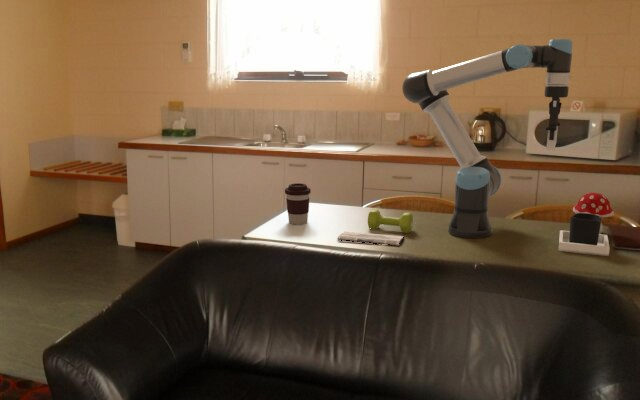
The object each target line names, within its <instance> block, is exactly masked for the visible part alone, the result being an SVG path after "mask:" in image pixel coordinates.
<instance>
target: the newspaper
mask: <svg viewBox="0 0 640 400" xmlns="http://www.w3.org/2000/svg"><path fill="white" fill-rule="evenodd" d="M403 237H405V236H403V235H393V234H392V235H390V234H380V233H379V234H378V233H369V232H368V233H367V232H355V231H343V232H341V233H340V234H339V235H338V236H337V240H338V239H339V240H338V242H345V243H353V242H352V241H354V242H355V243H358V244H359V243H360V244H363V243H362V242H365V243H368V244H369V245H374V244H373V243H377V244H379V243H380V245H379V246H381V245H382V244H390V245H392V246H400V244H399V243H401V240H402V239H404V238H403ZM341 240H342V241H341ZM346 240H350V241H346ZM357 241H361V242H357ZM369 242H371V243H369Z"/></svg>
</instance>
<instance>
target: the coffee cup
mask: <svg viewBox="0 0 640 400" xmlns="http://www.w3.org/2000/svg"><path fill="white" fill-rule="evenodd" d="M311 190H312V189H311V188H310V187H308V185H307V184H305V183H299V182H297V183H296V182H295V183H291V184H289V185H288V187H285V188H284V193H285V195H286V210H287V212H286V213H287V214H288V215H287V216H288V223H289V224H291V225H295V224H301V225H305V224H307V223H308V218H309V209H310V194H311Z"/></svg>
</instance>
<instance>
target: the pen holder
mask: <svg viewBox="0 0 640 400" xmlns="http://www.w3.org/2000/svg"><path fill="white" fill-rule="evenodd" d="M601 222H602V217H600V216H597V215H594V214H588V213H575V214H573V215H572V216H570V219H569V231H570V234H569V242H570V243H579V244H589V245H597V243H598V238H599V231H600V225H601Z"/></svg>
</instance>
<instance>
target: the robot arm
mask: <svg viewBox="0 0 640 400" xmlns="http://www.w3.org/2000/svg"><path fill="white" fill-rule="evenodd" d="M548 42H549V43H547V44H545V45H531V44H530V45H528V44H526V45H525V44H521V43H519V44H515V45H513V46H511V47H509V48H506V49H502V50H499V51H496V52H492V53H489V54H486V55H483V56H480V57H476V58H473V59H470V60H466V61H463V62H459V63H456V64H453V65H449V66H446V67H444V68H443V67H442V68H440V69H436V70H433V69H426V70H422V71H415V72H412V73H410V74H408V75H407V76H406V77H405V79H404V80H403V82H402V88H401V89H402V93H403V96H404V97H405V99H407V101H408V102H410V103H412V104H418V105H419V107H420V108H421V109H420V110H422V112H423V113H426V114H429V116H430V118H431V120H432V121H433V122H434V124H435V126H436V128H437V130H438V131H439V133H440V135H441V137H442V138H443V139H444V142H445V143H446V145H447V147H448V148H449V149H450V150H449V151H450V152H451V153H452V155H453V156H454V158H455V160H456V162H457V163H458V165H459V167H460V168H459V170H458V171H457V172H456V175H455V180H454V181H455V190H454V191H455V193H454V209H453V213H452V217H451V219H450V221H449V224H448V230H447V231H448V233H449V234H451V235H453V236H455V237H459V238H466V239H483V238H487V237H489V236H491V235H492V226H491V222H490V218H489V215H488V214H489V213H488V206H489V197H491V196H493V195H494V194H496V192H498V190H499V189H500V187H501V185H502V175H501V172H500V170H499V169H498V168H497V167H496V166H494V165H492V164H491V162H490V161H489V159H488V157H487V156H485V155H481V153H480V151H479V150H478V148H477V147H476V145H475V144H474V142H473V140H472V138H471V137H470V135H469V133H468V131H467V130H466V128H465V126H464V125H463V123H462V121H461V120H460V118H459V116H458V115H457V113H456V111H455V110H454V108H453V106H452V105H451V103H450V101H449V100H450V93H449V92H448V90H450V89H454V88H457V87H461V86H463V85H468V84H471V83H474V82H478V81H480V80H481V81H482V80H484V79H485V80H486V79H488V78H491V77H495V76H498V75H499V76H500V75H502V74H506V73H508V72H514V71H517V70H520V69H526V68H527V69H528V68H529V69H531V68H532V69H534V68H536V69H537V68H539V69H540V68H541V69H543V68H546V74H545V85H546V86H545V87H544V96H545V98H551V101H550V102H549V103H548V108H549V109H548V114H549V120H548V126H547V127H546V128H545V131H547V139H546V148H545V149H546V150H550V151H551V150H552V151H555V150H556V145H557V137H558V131H559V130H558V128H559V127H560V126H561V123H560V122H559V115H560V113H561V108H562V104H563V103H562V102H561V99H560V98H562V99H564V98H567V97H569V90H570V89H569V86H567V85H570V79H571V80H572V75H571V74H570V73H571V67H572V66H571V65H572V57H573V41H572V40H571V39H568V38H557V39H554V38H552V39H550V40H549V41H548Z"/></svg>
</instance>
